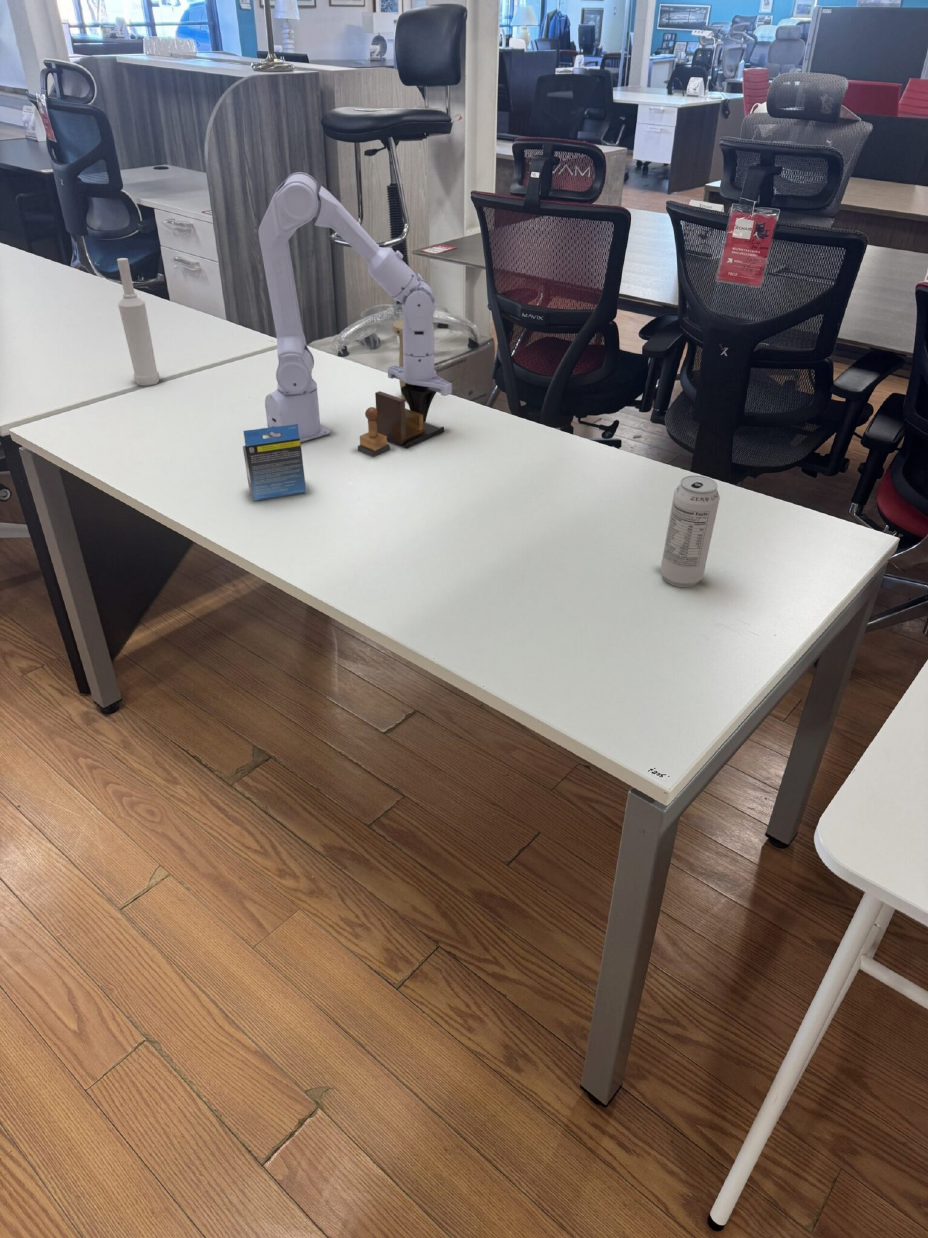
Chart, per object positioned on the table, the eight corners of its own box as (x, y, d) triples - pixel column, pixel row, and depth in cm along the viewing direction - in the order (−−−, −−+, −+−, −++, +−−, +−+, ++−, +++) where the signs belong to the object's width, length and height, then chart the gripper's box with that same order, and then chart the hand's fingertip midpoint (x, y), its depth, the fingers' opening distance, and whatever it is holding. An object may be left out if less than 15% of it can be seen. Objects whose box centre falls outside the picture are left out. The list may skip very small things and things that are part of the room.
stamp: (385, 414, 157) (362, 402, 151) (401, 420, 155) (378, 408, 149) (369, 455, 158) (345, 445, 152) (384, 462, 156) (361, 451, 150)
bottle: (156, 386, 180) (130, 262, 166) (131, 385, 180) (104, 261, 166) (163, 377, 185) (139, 256, 170) (139, 377, 185) (114, 255, 170)
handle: (410, 405, 174) (408, 331, 165) (390, 396, 177) (387, 324, 169) (428, 399, 176) (427, 326, 168) (407, 391, 180) (405, 319, 171)
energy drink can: (709, 577, 122) (730, 482, 113) (688, 594, 118) (708, 498, 109) (673, 562, 125) (690, 469, 116) (651, 578, 121) (667, 483, 113)
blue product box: (301, 483, 144) (294, 414, 137) (306, 493, 141) (299, 423, 134) (249, 491, 141) (238, 421, 134) (253, 501, 138) (242, 430, 131)
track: (414, 420, 167) (413, 415, 167) (444, 431, 163) (444, 426, 162) (376, 436, 161) (376, 431, 160) (407, 448, 156) (407, 443, 156)
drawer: (401, 424, 163) (400, 383, 159) (426, 433, 160) (425, 391, 155) (377, 434, 159) (375, 392, 155) (401, 444, 156) (400, 401, 151)
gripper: (463, 355, 153) (462, 426, 161) (404, 338, 161) (406, 406, 169) (437, 364, 149) (437, 437, 157) (378, 346, 156) (381, 416, 164)
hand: (419, 422), depth 162 cm, fingers closed, pressing on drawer
